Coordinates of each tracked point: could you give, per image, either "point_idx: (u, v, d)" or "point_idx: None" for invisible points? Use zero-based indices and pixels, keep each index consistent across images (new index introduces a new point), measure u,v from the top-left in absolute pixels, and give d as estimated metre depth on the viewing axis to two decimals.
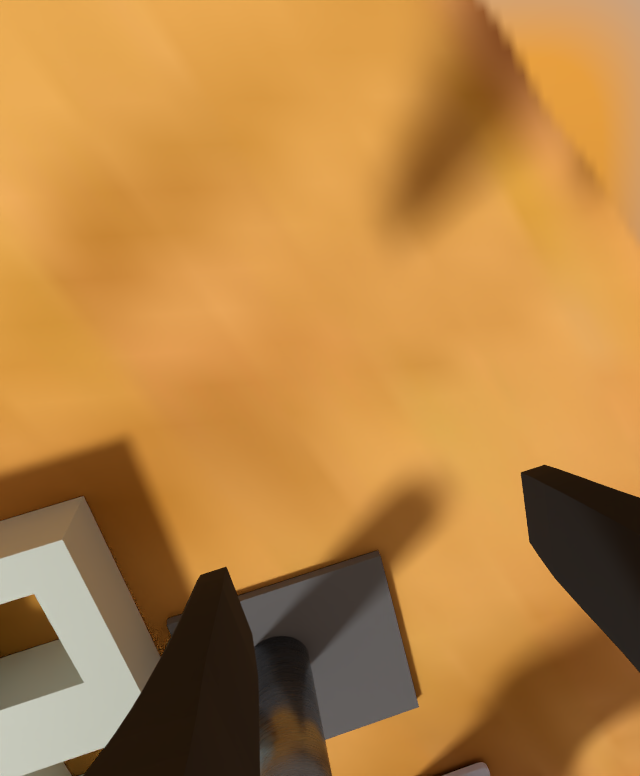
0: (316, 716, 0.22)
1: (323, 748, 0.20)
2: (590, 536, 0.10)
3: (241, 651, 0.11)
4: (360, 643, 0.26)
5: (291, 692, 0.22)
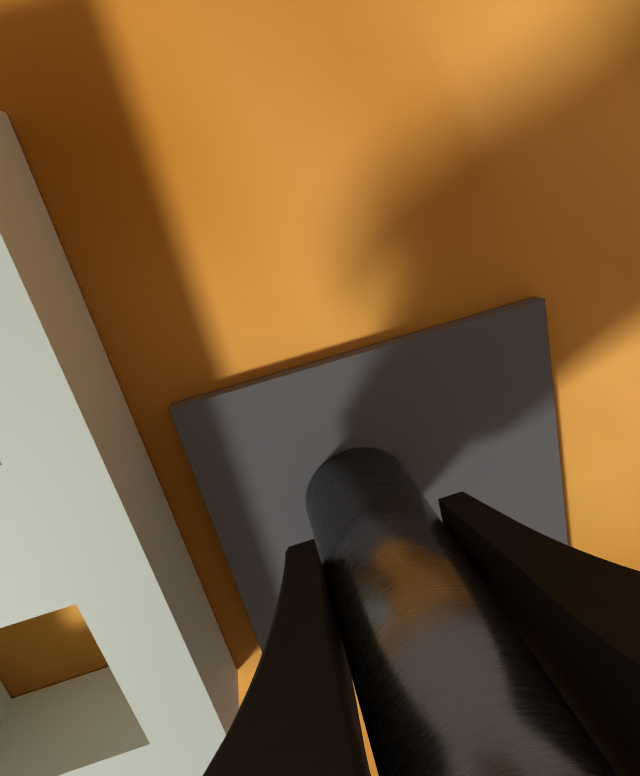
0: (460, 549, 0.11)
1: None
2: (491, 569, 0.10)
3: None
4: (495, 471, 0.15)
5: (409, 508, 0.11)
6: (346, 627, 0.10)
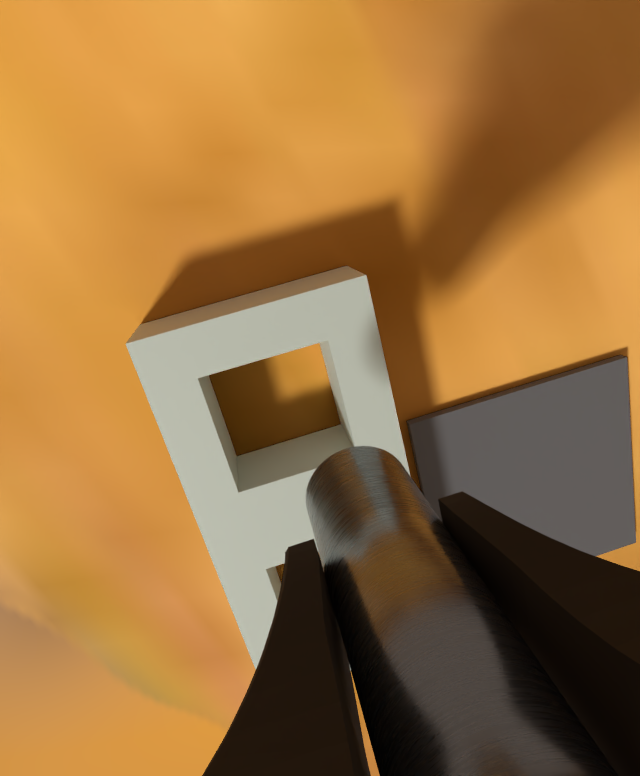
0: (455, 541, 0.11)
1: (485, 585, 0.10)
2: (491, 569, 0.10)
3: (335, 619, 0.11)
4: (592, 461, 0.24)
5: (401, 505, 0.12)
6: (345, 626, 0.10)
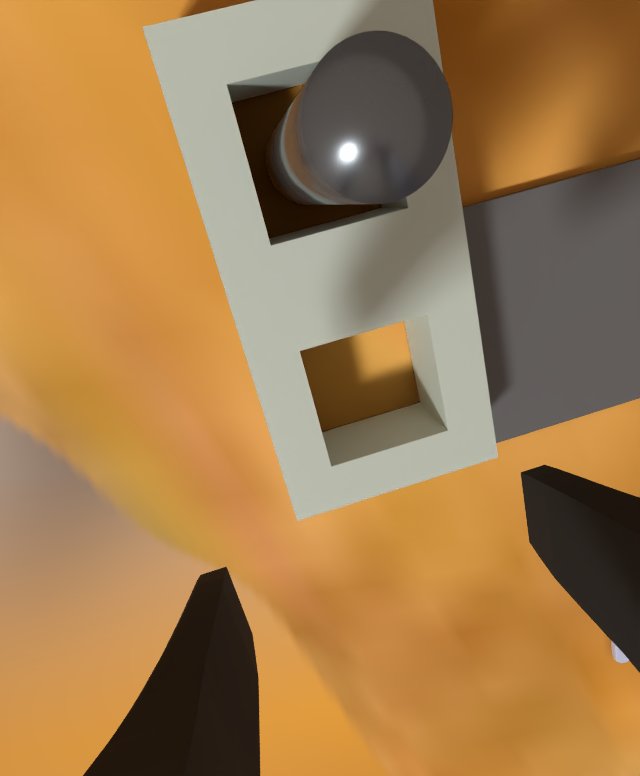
0: None
1: None
2: (590, 536, 0.10)
3: (241, 651, 0.11)
4: None
5: None
6: (280, 133, 0.14)
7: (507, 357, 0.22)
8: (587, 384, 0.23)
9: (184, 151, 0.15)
